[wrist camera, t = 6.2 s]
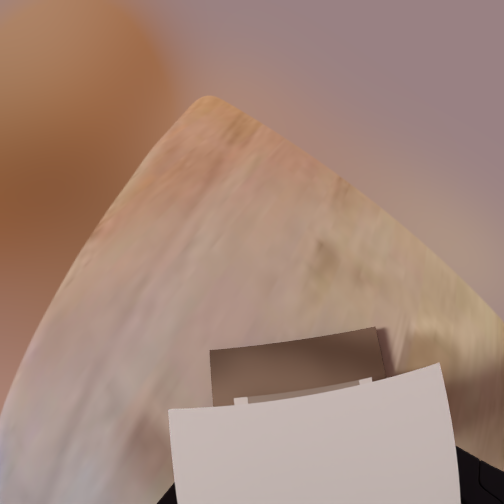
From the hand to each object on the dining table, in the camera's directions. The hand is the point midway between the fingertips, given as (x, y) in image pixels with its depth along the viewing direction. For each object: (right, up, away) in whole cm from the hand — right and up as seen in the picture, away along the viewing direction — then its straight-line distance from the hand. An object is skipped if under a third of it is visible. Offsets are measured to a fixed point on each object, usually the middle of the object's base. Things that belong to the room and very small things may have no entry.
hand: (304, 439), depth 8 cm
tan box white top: (+1, -5, +5) cm, 7 cm away
